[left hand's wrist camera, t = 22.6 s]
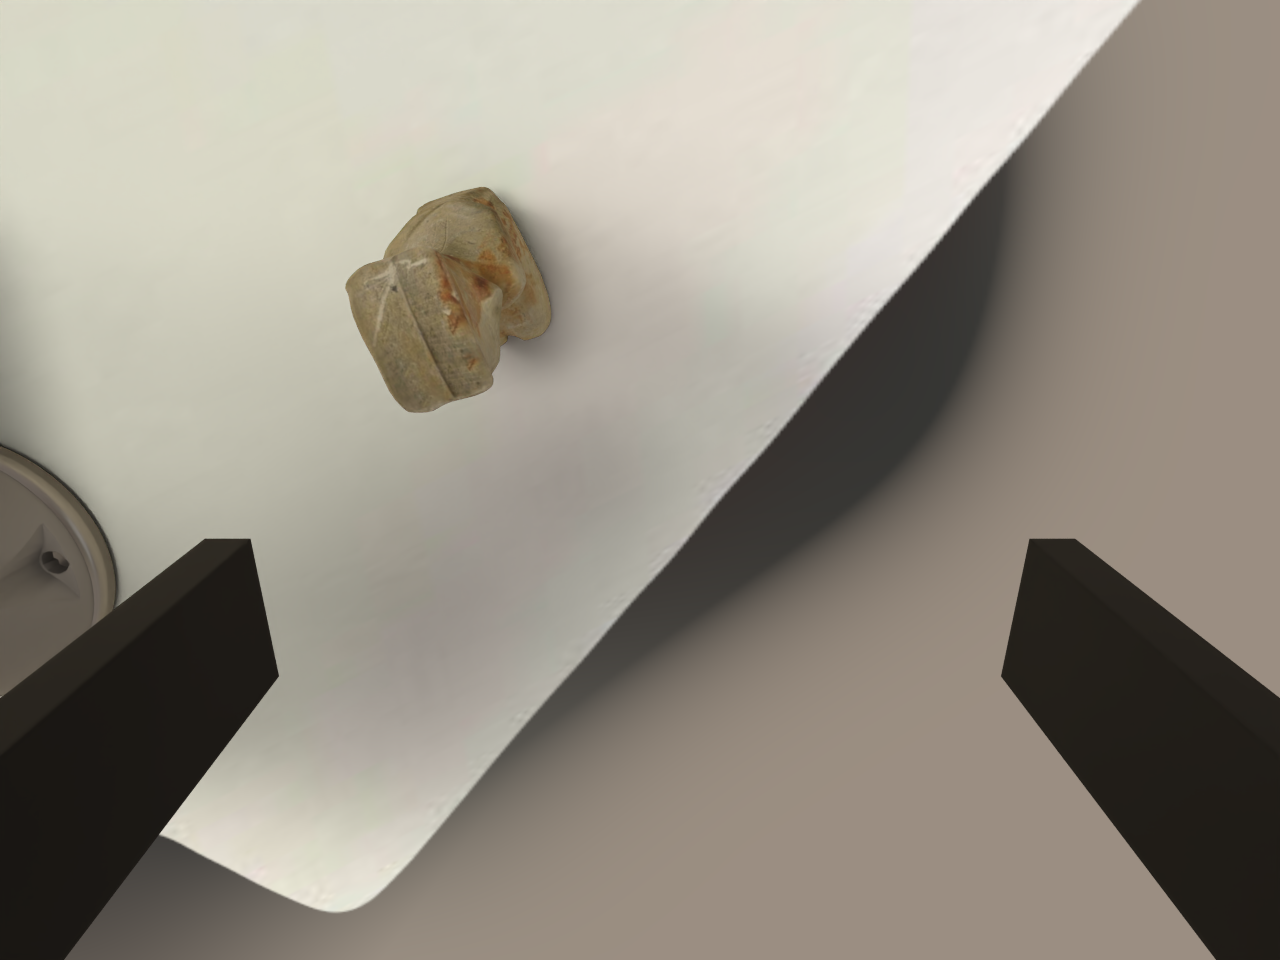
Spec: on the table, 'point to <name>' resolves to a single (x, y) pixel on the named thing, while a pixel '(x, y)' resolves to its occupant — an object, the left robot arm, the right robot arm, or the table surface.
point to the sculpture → (448, 299)
